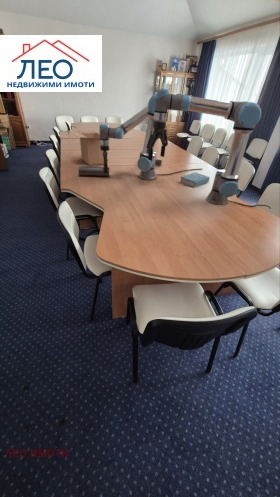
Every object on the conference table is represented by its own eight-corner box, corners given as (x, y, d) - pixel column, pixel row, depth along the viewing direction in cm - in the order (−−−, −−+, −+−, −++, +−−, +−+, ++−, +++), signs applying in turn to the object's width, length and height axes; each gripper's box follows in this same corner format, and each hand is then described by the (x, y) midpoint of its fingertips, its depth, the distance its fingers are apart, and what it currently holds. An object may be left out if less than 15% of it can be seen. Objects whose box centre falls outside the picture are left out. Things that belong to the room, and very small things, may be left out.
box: (116, 165, 229) (116, 136, 213) (83, 168, 214) (80, 137, 198) (102, 154, 259) (101, 128, 243) (71, 156, 244) (68, 129, 228)
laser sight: (160, 167, 234) (161, 157, 228) (139, 164, 237) (140, 154, 231) (161, 164, 242) (162, 154, 236) (141, 162, 245) (142, 152, 239)
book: (194, 177, 213) (195, 172, 210) (208, 182, 204) (209, 177, 201) (179, 182, 200) (180, 176, 197) (194, 187, 191) (195, 182, 188)
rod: (109, 174, 205) (109, 166, 200) (109, 177, 199) (108, 168, 194) (80, 174, 202) (79, 165, 197) (79, 176, 196) (78, 167, 191)
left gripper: (100, 141, 195) (102, 166, 208) (99, 148, 175) (101, 175, 188) (109, 142, 196) (110, 166, 209) (109, 148, 176) (110, 175, 189)
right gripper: (152, 123, 121) (149, 162, 134) (176, 120, 137) (171, 156, 150) (142, 121, 125) (139, 160, 138) (166, 119, 141) (162, 154, 154)
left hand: (106, 170), depth 198 cm, fingers open, 13 cm apart
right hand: (156, 158), depth 144 cm, fingers open, 13 cm apart
